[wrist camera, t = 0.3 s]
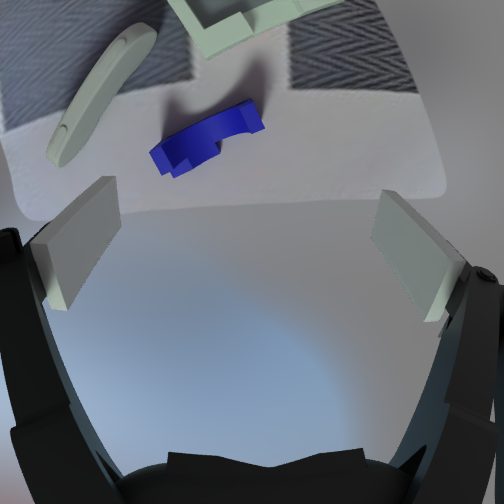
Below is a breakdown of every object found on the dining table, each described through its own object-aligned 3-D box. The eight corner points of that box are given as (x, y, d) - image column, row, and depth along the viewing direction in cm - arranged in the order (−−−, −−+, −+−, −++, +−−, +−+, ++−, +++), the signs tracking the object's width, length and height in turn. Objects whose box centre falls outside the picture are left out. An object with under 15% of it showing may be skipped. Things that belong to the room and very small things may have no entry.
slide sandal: (151, 25, 28) (128, 15, 21) (165, 35, 29) (145, 25, 22) (66, 148, 36) (34, 168, 29) (78, 157, 36) (47, 178, 29)
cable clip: (178, 170, 39) (168, 187, 33) (161, 140, 36) (148, 152, 31) (266, 131, 36) (270, 141, 31) (251, 98, 34) (253, 102, 29)
